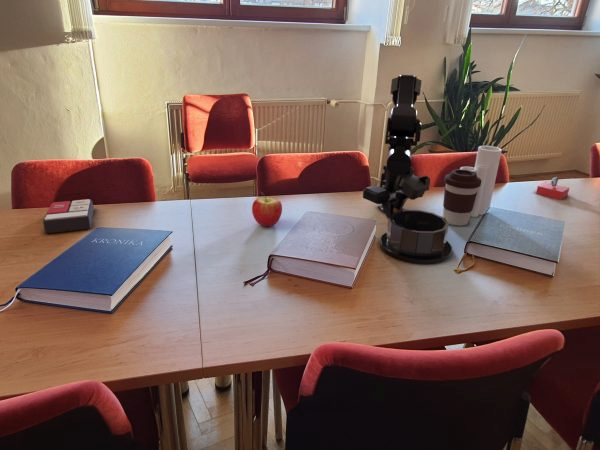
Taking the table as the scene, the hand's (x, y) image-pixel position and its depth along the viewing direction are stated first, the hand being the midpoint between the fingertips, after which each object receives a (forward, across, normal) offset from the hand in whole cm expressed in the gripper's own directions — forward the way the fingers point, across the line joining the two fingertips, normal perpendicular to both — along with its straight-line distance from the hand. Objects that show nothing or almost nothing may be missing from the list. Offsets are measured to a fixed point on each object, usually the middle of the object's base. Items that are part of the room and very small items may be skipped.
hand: (392, 218), depth 120 cm
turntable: (+5, -1, -9) cm, 10 cm away
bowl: (+3, -1, -8) cm, 8 cm away
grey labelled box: (+3, -70, +56) cm, 90 cm away
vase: (+6, +33, -3) cm, 34 cm away
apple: (+4, -25, +24) cm, 35 cm away
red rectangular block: (+7, +72, -9) cm, 73 cm away
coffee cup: (+6, +23, -4) cm, 24 cm away
